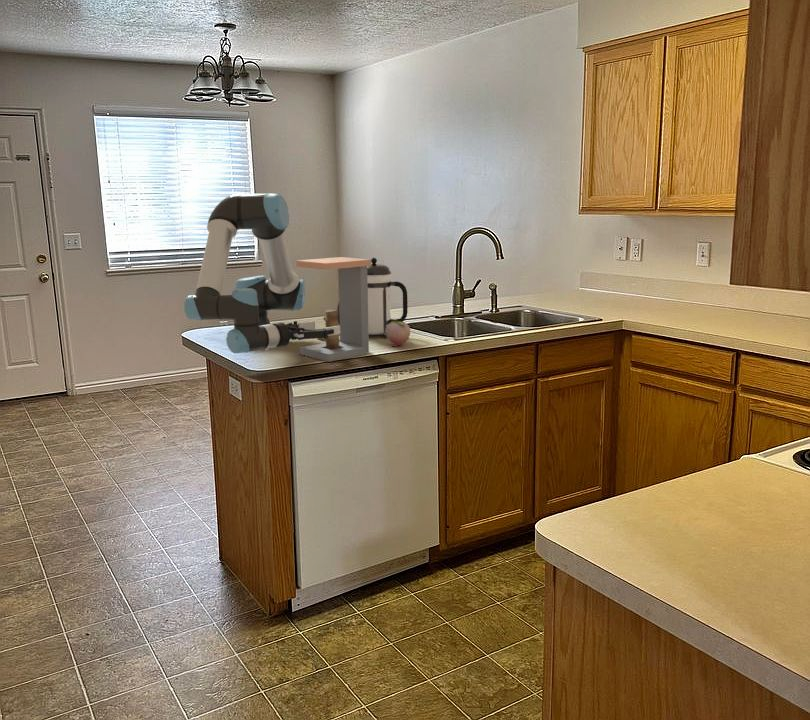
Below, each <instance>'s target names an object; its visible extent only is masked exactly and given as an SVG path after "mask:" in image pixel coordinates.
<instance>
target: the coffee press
mask: <svg viewBox="0 0 810 720" xmlns="http://www.w3.org/2000/svg"><path fill="white" fill-rule="evenodd" d="M370 260H371V266H367V281H368V335H375V336H376V335H381V336H382V337H383V339H388V338H387V336H386V333H385V329H386V327H387V325H388V324H390V322H391V321H397V318H392V317H391V286H392V287H398V288H400V290H401V292H402V315H401V317H399V318H398V321H399V322H405V320H406V319H407V316H408V304H409V303H408V302H409V301H408V291H407V287H406V286H405V285H404V284H403V283H402V282H400V281H391V274H392V270H390V267H389V266H387V265H385V264H378V263H377V262H378V260H377V258H376V257H372V258H371V259H370Z"/></svg>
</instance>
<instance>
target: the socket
mask: <svg viewBox="0 0 810 720" xmlns="http://www.w3.org/2000/svg"><path fill="white" fill-rule="evenodd" d="M295 263H296V265H295V266H296V267H297V268H305V269H315V270H325V271H328V270H337V274H338V276H337V277H338V302H339V317H340V334H339V348H338V349H333V350H330V349H326V342H322V343H317V344H311V345H307V346H299V355H300V354H301V355H300V356H304V355H305V357H308V356H309V358H313V359H316V360H320V361H324V362H333V361H338V360H339V361H340V360H343V359H349V358H355V357H359V356H365V355H367V354H368V353H370V349H369V348H370V347H369V343H370V340H369V338H370V337H369V335H370V334H368V281H367V266H371V264H372V262H371V259H367V258H357V257H356V258H355V257H344V256H338V257H327V258H312V259H299V260H298V259H297V260H296V261H295Z"/></svg>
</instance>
